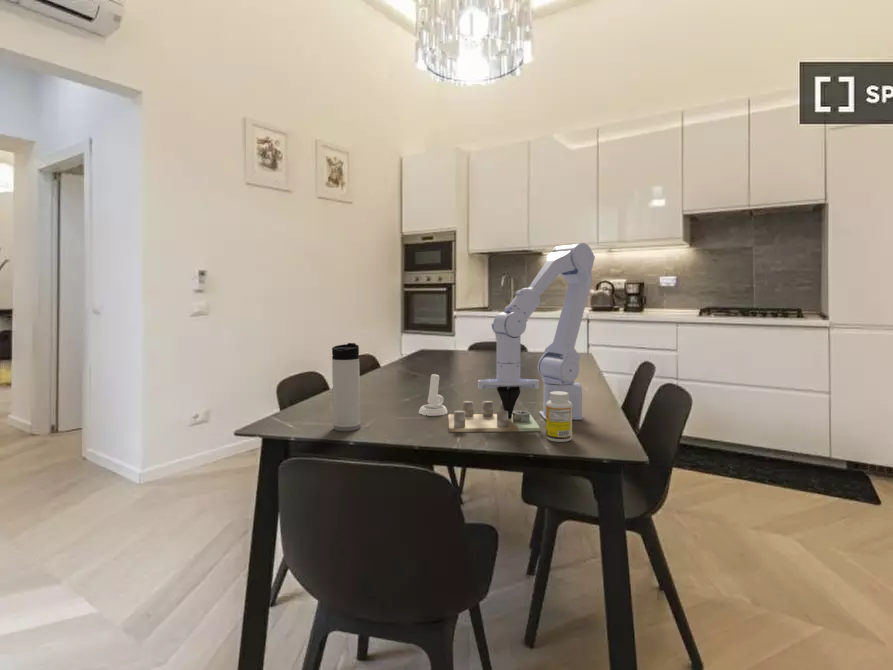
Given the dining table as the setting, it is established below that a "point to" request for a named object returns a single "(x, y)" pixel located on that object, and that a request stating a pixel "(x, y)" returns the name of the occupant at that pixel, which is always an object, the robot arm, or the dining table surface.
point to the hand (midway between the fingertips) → (508, 417)
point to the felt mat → (528, 425)
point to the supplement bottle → (559, 417)
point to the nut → (521, 416)
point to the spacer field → (481, 419)
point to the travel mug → (346, 387)
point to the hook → (434, 400)
